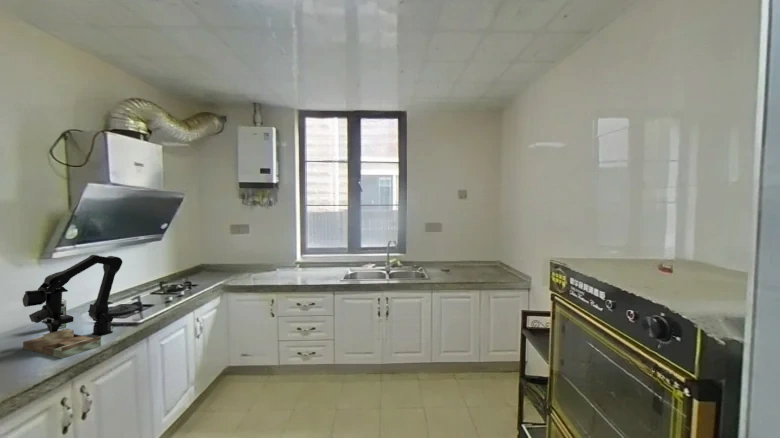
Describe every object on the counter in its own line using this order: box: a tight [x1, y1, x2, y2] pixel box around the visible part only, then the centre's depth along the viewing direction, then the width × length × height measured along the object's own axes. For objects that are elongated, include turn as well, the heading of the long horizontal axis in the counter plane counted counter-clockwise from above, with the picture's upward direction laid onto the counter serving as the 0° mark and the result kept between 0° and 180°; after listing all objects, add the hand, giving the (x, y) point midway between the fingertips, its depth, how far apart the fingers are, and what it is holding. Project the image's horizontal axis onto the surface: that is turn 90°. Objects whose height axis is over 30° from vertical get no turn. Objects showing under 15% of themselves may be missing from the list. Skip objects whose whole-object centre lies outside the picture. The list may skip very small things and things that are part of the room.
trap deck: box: [22, 333, 102, 359], centre depth 177 cm, size 16×26×4 cm, turn 72°
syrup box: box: [46, 298, 67, 329], centre depth 202 cm, size 6×6×14 cm
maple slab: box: [42, 328, 75, 344], centre depth 178 cm, size 10×5×4 cm, turn 162°
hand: (52, 335), depth 179 cm, fingers closed
